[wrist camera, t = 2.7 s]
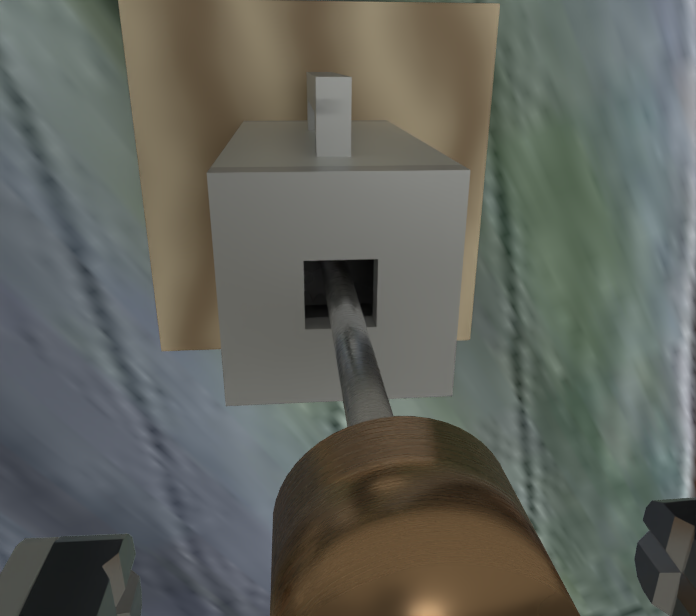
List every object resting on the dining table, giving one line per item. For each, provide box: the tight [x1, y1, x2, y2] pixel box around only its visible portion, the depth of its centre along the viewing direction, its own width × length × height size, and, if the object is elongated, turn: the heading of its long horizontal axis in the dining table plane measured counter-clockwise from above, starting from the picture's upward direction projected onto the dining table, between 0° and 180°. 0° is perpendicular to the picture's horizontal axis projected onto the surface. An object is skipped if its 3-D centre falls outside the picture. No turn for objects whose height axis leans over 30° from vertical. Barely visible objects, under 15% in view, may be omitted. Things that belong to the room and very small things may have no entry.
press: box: [207, 72, 470, 406], centre depth 27 cm, size 8×11×17 cm
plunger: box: [270, 259, 580, 616], centre depth 17 cm, size 6×6×20 cm
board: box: [118, 0, 500, 351], centre depth 36 cm, size 20×20×2 cm
